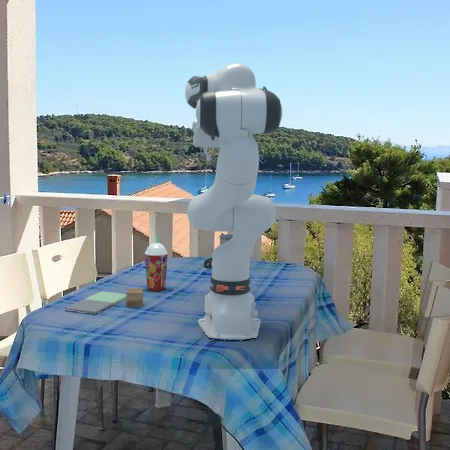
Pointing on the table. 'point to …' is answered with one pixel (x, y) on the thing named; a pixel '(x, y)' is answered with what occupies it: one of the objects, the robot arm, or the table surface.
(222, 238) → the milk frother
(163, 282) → the smoothie
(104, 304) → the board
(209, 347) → the table surface
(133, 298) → the walnut block
